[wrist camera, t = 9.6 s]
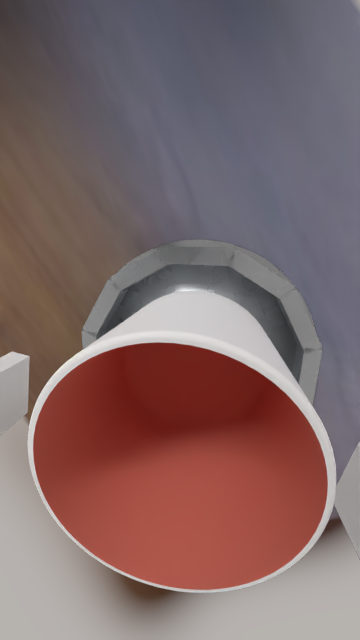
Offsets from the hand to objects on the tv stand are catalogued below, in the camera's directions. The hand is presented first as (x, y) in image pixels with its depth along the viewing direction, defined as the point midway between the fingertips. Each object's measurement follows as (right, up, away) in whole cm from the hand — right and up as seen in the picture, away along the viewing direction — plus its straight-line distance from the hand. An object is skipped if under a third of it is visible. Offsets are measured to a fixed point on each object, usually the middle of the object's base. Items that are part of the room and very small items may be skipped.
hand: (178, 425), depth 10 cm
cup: (+1, +1, +8) cm, 8 cm away
